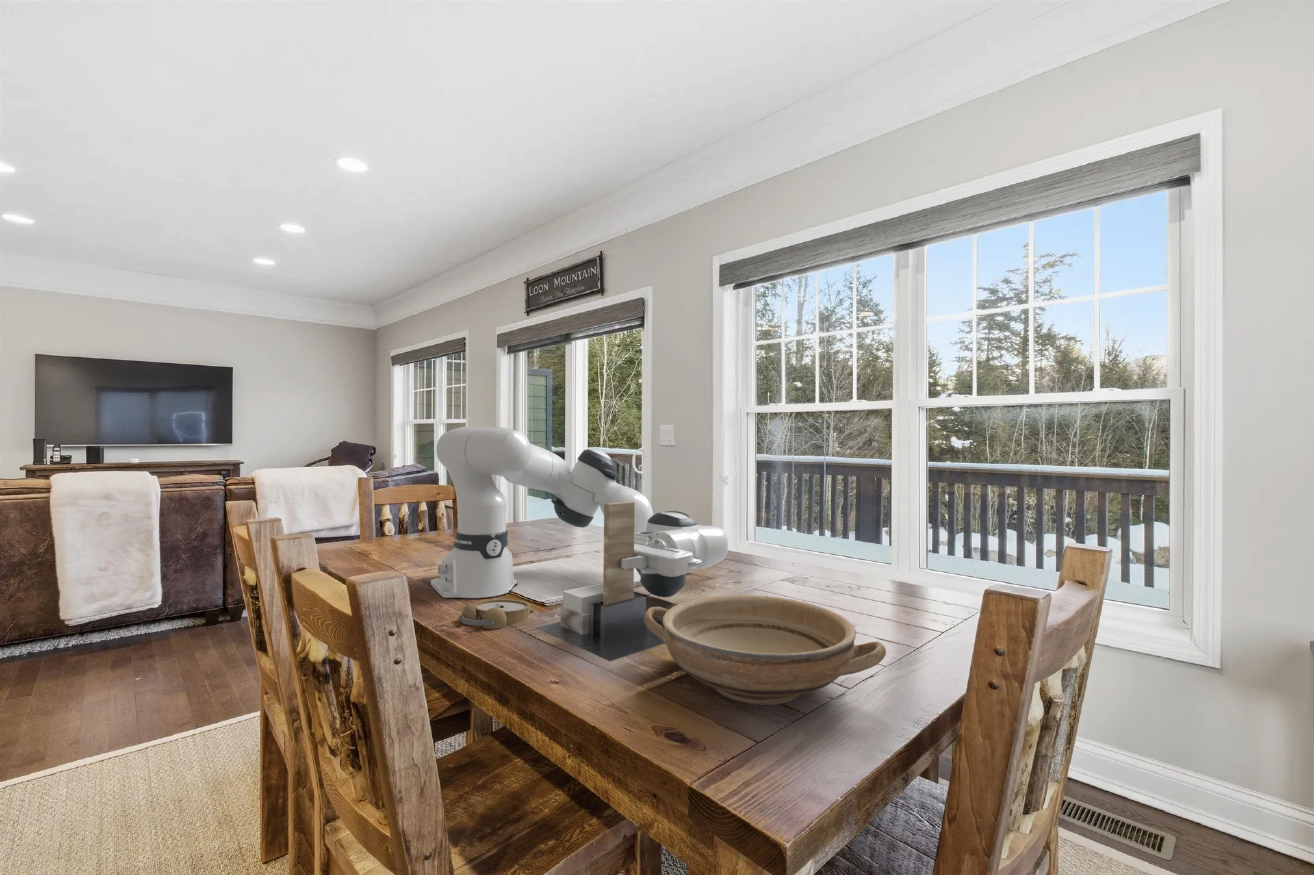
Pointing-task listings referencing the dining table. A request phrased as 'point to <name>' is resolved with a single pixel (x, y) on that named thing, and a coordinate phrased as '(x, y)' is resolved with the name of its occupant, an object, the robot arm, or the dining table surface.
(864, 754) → the dining table surface
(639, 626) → the slot rack
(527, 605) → the alarm clock
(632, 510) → the birch board
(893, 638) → the dining table surface
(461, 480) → the robot arm
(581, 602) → the offcut upper
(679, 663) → the ceramic bowl
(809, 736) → the dining table surface
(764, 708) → the dining table surface
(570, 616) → the offcut lower
